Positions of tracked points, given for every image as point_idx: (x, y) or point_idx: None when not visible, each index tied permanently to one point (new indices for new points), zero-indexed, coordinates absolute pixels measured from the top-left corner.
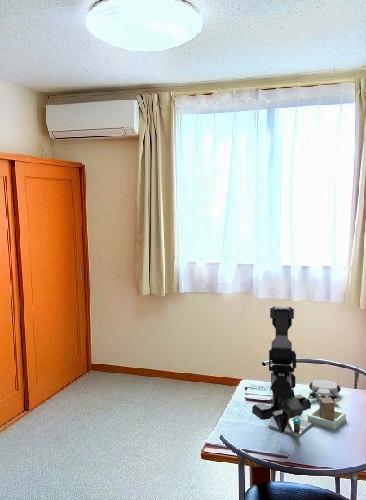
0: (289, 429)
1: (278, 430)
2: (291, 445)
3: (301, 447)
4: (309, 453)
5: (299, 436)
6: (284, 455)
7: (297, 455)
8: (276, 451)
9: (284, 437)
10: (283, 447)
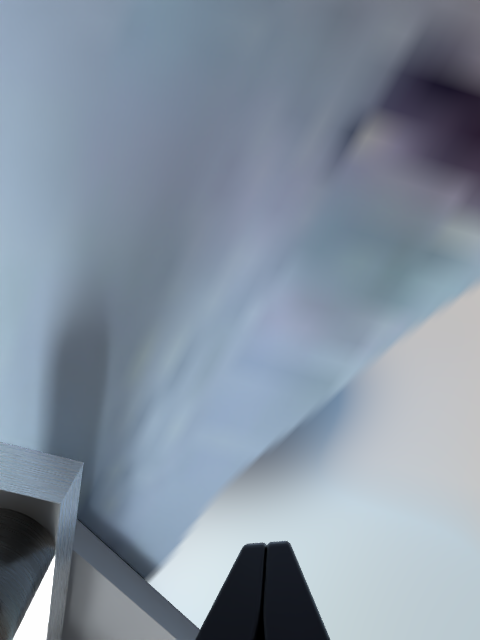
0: (82, 606)
1: (192, 624)
2: (181, 356)
3: (69, 276)
4: (3, 82)
5: (13, 449)
6: (415, 137)
7: (213, 75)
8: (460, 280)
9: (187, 517)
10: (307, 344)
